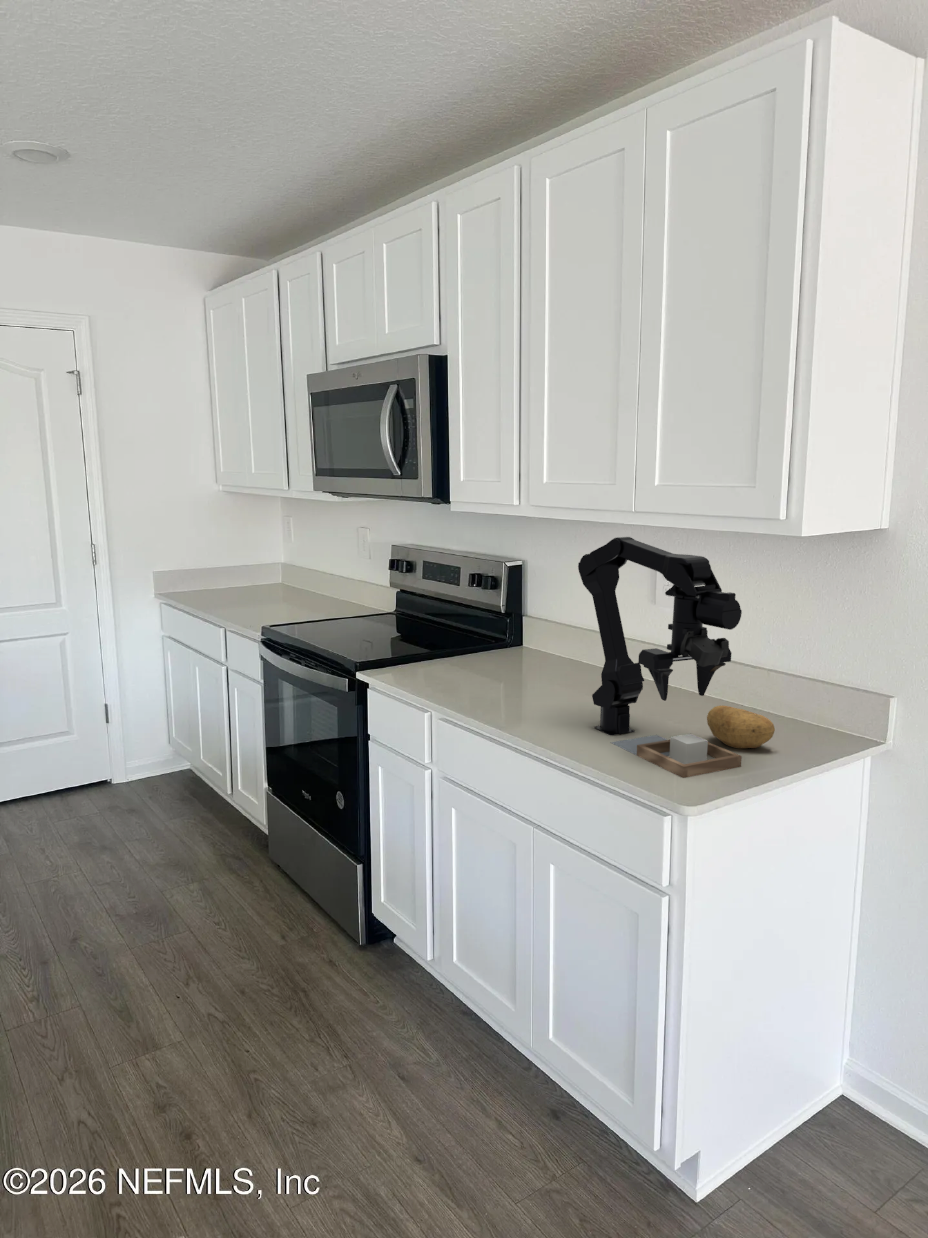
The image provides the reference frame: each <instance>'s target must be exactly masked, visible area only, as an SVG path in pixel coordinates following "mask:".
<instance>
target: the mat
mask: <svg viewBox="0 0 928 1238" xmlns="http://www.w3.org/2000/svg"><path fill="white" fill-rule="evenodd" d="M664 740H669V739H667V738H665V737H663V736H660V735H659V734H653V735H647V736H642V737H641V736H640V737H634V738H628V739H623V740H616V741H610V744H613V745H614V746H616V747H618V748H620V749H623V750H625V751H626V752H628V753H631V754H633V755H635V756H637V745H640V744H646V743H652V742H658V741H664ZM661 754H663V755H665V756H667V757H669V755H670V751H669V752H664V753H661ZM642 759H643V760H645V759H644V758H642Z"/></svg>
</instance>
